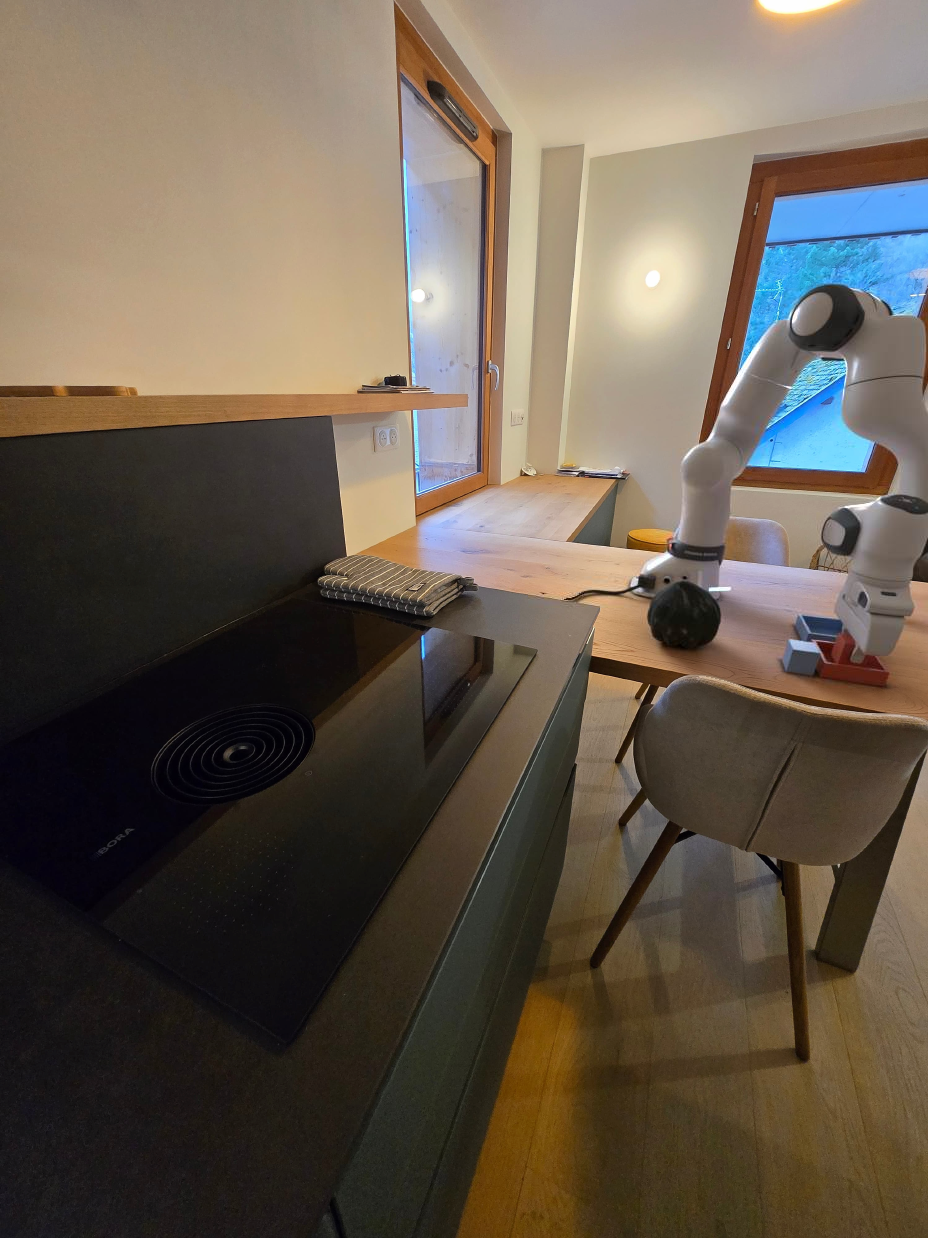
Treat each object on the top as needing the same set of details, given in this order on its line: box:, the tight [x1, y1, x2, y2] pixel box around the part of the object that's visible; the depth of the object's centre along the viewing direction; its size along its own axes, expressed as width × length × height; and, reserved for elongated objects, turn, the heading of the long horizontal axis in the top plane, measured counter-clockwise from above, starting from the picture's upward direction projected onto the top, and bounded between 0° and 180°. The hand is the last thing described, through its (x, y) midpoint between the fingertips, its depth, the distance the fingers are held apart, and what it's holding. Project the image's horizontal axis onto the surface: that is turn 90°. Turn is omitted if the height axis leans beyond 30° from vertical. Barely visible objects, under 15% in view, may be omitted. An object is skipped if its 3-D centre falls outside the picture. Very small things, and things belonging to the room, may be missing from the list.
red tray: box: [811, 639, 891, 687], centre depth 96 cm, size 10×10×3 cm
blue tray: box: [794, 613, 843, 642], centre depth 107 cm, size 10×10×3 cm
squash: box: [646, 580, 722, 650], centre depth 106 cm, size 14×15×15 cm
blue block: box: [781, 638, 820, 677], centre depth 96 cm, size 4×4×5 cm
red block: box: [831, 633, 870, 668], centre depth 95 cm, size 4×4×5 cm
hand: (850, 654), depth 95 cm, fingers closed on red block, 4 cm apart
